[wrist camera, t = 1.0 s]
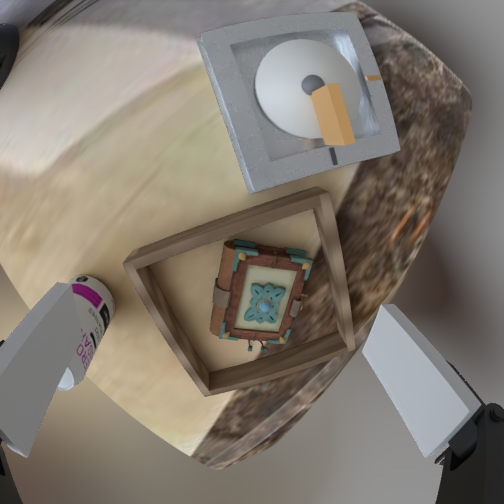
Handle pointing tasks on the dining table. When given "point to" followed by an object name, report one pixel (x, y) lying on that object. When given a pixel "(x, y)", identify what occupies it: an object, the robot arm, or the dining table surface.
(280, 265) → the decorative book
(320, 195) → the book tray
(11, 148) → the dining table surface
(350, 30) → the dial panel
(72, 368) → the supplement can
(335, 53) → the dial
